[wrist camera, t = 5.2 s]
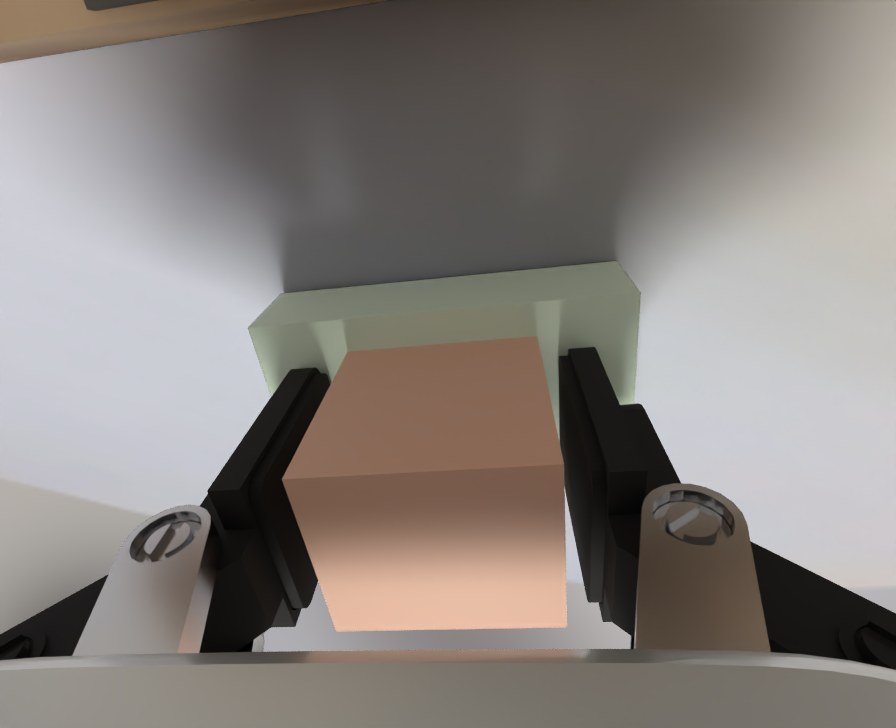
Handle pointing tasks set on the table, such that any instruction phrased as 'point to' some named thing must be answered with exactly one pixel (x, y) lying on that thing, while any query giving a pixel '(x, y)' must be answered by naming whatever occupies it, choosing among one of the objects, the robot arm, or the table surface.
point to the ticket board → (130, 21)
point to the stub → (443, 438)
